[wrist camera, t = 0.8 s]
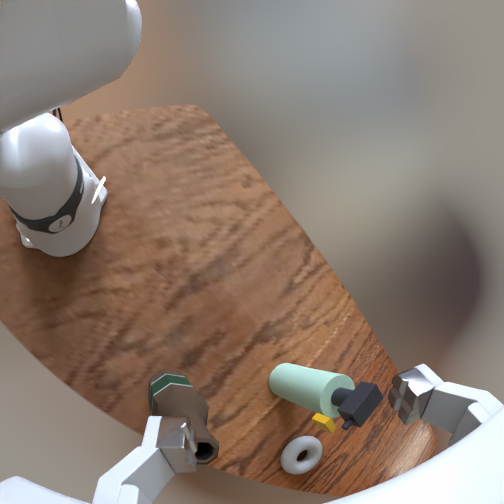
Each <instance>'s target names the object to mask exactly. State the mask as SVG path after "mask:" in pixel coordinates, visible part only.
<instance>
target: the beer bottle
mask: <svg viewBox="0 0 504 504" xmlns="http://www.w3.org/2000/svg"><path fill="white" fill-rule="evenodd" d="M148 398H149V404H150V410H151V416H188V417H189V418H190V420H191V428H193V429H194V430H195V433H196V437H197V445H198V446H197V452H196V453H195V456H196V458H197V464H204V465H207V464H209V463H210V462H212V461H213V460H214V459H216V458H217V457H218V451H219V442H218V441H217V440H216V439H215V438H214V437H213V436H212V435H211V434H210V433H209V431H208V429H207V427H206V425H207V417H208V409H209V406H208V404H207V403H206V401H205V400H204V399H203V398H202V397H201V396H200V394H199V393H198V392H197V391H196V390H195V388H194V387H193V386H192V385H191V384H190V382H189V381H188V380H187V379H186V378H185V376H184V375H183V374H182V373H181V372H177V371H170V370H164V369H163V370H162V371H160V372H159V373H158V374H156V375H155V376H153V377H152V378H150V385H149V394H148Z"/></svg>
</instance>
